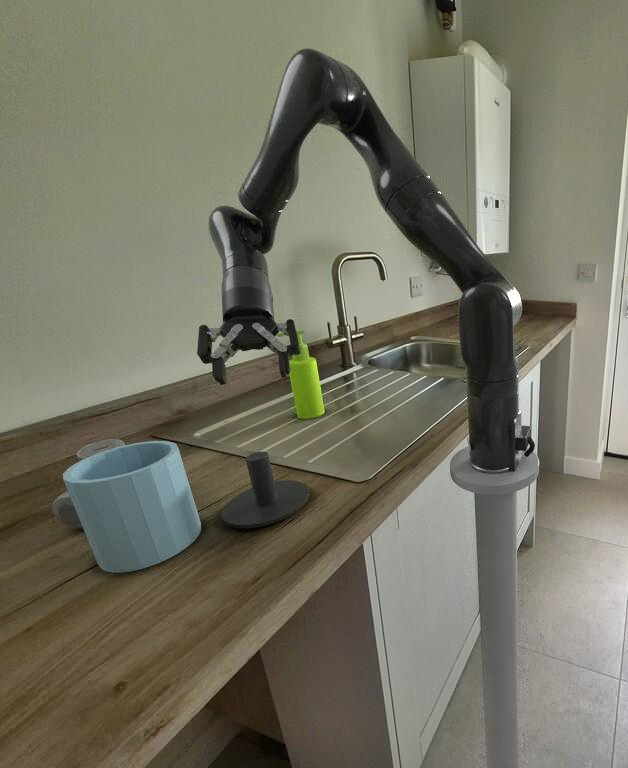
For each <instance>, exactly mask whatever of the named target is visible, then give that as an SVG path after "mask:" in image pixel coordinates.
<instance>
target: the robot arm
mask: <svg viewBox="0 0 628 768" xmlns="http://www.w3.org/2000/svg"><path fill="white" fill-rule="evenodd" d="M366 85H367V84H365V82H364V81H363V79H362V78H361V77H360V75H359V74H358V73H357V72H356V71H355V70H354V69H353V68H351V67H350V66H349V65H347V64H345V63H344V62H341V61H340V60H338V59H335V58H334V57H332V56H331V55H328V54H326V53H324V52H322V51H319V50H317V49H314V48H308V47H307V48H306V47H305V48H301V49H299V50H297V51H296V52H295V53H294V54H293V55H292V56H291V57H290V59H289V61H288V62H287V65H286V67H285V69H284V72H283V74H282V78H281V81H280V84H279V88H278V90H277V94H276V98H275V102H274V104H273V107H272V110H271V113H270V117H269V121H268V124H267V127H266V131H265V135H264V137H263V141H262V143H261V147H260V149H259V152H258V154H257V156H256V159H255V160H254V162H253V164H252V166H251V168H250V170H249V171H248V173H247V174H246V176H245V178H244V179H243V182H242V184H241V186H240V188H239V190H238V192H237V197H238V201H239V203H240V205H241V206H242V207H243V208H244V209H245V210H246V211H247V212H246V211H243V210H240V209H239V208H236V207H233V206H230V205H224V204H223V205H219V206H216V207H215V208H214V209H213V210H211V212H210V214H209V217H208V231H209V235H210V238H211V241H212V243H213V244H214V247H215V249H216V251H217V254H218V255H219V258H220V261H221V265H222V267H221V268H222V280H221V310H222V311H221V312H222V314H221V315H222V324H221V326H220V327H209V326H208V325H206V324H201V325H199V327H198V335H197V347H196V349H197V350H196V355H197V356H198V357H199V359H200V361H201V362H202V363H203V364H204V365H208V364H211V372H212V373H211V374H212V375H211V376H212V377H213V378H214V380H215V381H216V383H219V384H220V386H223V385H227V366H226V364H225V363H227V362H228V360H230V358H233V357H234V356H235V355H236V354H237V353H238V352H239V351H241V352H248V351H252V350H255V351H256V350H257V351H260V350H264V348H267V349H269V350H270V351H271V352H272V353H274V354H276V355H277V357H278V358H277V359H278V367H279V374H280V377H281V379H282V378H283V379H285V378H287V375H289V374H290V362H289V360H290V358H291V357H292V355H299V354H300V347H299V342H298V337H297V332H296V330H297V329H296V324H295V321H294V319H292V318H288V319H287V320H286V321H285V322H282V323H277V322H276V320H275V312H274V310H275V309H274V296H273V291H272V287H271V283H270V278H269V277H270V276H269V268H268V267H269V266H268V261H267V258H266V256H265V255H267V254H268V253H269V252H271V251H272V249H273V247H274V245H275V239H276V232H277V228H278V225H279V224H278V223H279V221H280V217H281V215H282V213H283V211H284V210H285V208H286V207H287V205H288V204H289V202H290V200H291V199H292V198H293V195H294V194H295V192H296V189H297V187H298V184H299V179H300V154H301V150H302V149H301V148H302V146H303V144H304V141H305V140H306V138H307V137H308V135H309V134H310V133H311V132H312V130H313V129H314V128H315V127H316V126H317V125H318V124H319V125H322V126H326V127H329V128H332V129H335V130H337V131H338V132H340V133H341V134H342V135H343V136H344V138H346V140H347V141H349V143H350V144H351V145H352V146H353V147H354V149H355V150H356V151H357V153H358V154H359V155H360V156H361V158H362V160H363V161H364V163H365V164H366V167H367V168H368V172H369V175H370V179H371V184H372V188H373V190H374V193H375V196H376V199H377V201H378V203H379V205H380V206H381V208H382V209H383V211H384V212H385V214H386V215H387V216H388V218H389V219H390V220H391V222H392V223H393V224H394V225H395V227H396V228H397V229H398V230H399V232H400V233H401V235H402V236H403V237H405V239H406V240H407V241H408V242H409V243H410V244H411V245H412V246H414V247H415V248H416V249H417V250H418V251H419V252H421V253H422V254H423V255H424V256H426V257H427V258H428V259H429V260H431V261H432V262H433V263H434V264H436V266H438V267H439V268H441V269H442V270H443V271H444V272H445V273H446V274H447V275H448V276H449V278H451V280H452V281H453V282H454V284H456V286H457V288H458V289H459V291H460V293H461V296H460V298H459V301H458V307H457V325H458V328H457V329H458V337H459V338H458V339H459V348H460V356H461V357H460V358H461V360H462V364H463V365H464V367H465V381H466V384H465V385H466V402H467V403H466V404H467V423H468V424H467V426H468V436H467V445H468V446H469V449H470V451H469V452H470V465H471V467H472V468H473V469H475V470H477V471H479V472H482V473H488V474H499V473H504V472H508V471H511V472H515V471H516V468H517V466H518V464H519V461H520V459H521V456H522V451H526V450H527V448H529V449H528V450H527V451H526V452H525V453H524V455H525V456H526V457H528V456H529V455H530V454H531V453H532V452H535V449H536V443H535V441H534V440H533V438H532V426H531V425H522V411H521V410H520V403H519V401H520V399H519V395H520V394H519V393H520V392H519V390H520V389H519V373H520V372H519V368H520V367H519V366H520V365H519V360H518V358H517V356H515V355H516V354H515V345H514V327H515V326H516V325H517V324H518V323H519V321H520V319H521V318H522V315H523V314H522V313H523V303H522V297H521V295H520V293H519V292H518V290H517V289H516V287H515V286H514V285H513V283H511V282H510V280H508V278H507V277H506V276H505V275H504V274H503V273H502V272H501V271H500V270H499V268H497V266H496V265H495V264H494V263H493V262H492V261H491V259H489V258H488V257H487V255H486V254H485V253H484V252H483V250H481V248H480V247H479V245H478V244H477V242H476V241H475V239H474V238H473V236H472V235H471V233H470V232H469V230H468V228H467V227H466V225H465V224H464V222H463V221H462V220H461V219H460V217H459V216H458V214H457V213H456V212H455V210H454V208H452V206H451V205H450V203H449V202H448V200H447V199H446V197H445V196H444V194H443V193H442V191H441V190H440V189H439V187H438V186H437V185H436V183H435V182H434V181H433V180H432V178H431V177H430V175H429V174H428V172H426V171H425V169H424V168H423V167H422V165H421V164H420V163H419V161H418V160H417V159H416V158H415V156H414V155H413V154H412V152H411V151H410V150H409V148H408V147H407V146H406V144H404V142H403V140H402V139H401V138H400V137H399V136H398V135H397V134H396V132H395V131H394V130H393V128H392V126H391V125H390V123H389V121H388V120H387V118H386V117H385V115H384V114H383V112H382V110H381V108H380V107H379V105H378V103H377V102H376V100H375V98H374V97H373V95H372V93H371V92H370V90H369V88H368V87H367V86H366ZM248 212H249V213H248ZM280 332H283V333H284V336H286V337H288V338H289V344H288V345H285V344H284V343H282V342H281V341H280V340H279V339H278V338H277V334H278V333H280ZM219 337H222V340H221V341H220V342H219V344H218V346H217V347H216V348H215V349H214V350H213V343H216V341H217V338H219ZM468 446H467V447H468Z"/></svg>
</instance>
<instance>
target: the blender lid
mask: <svg viewBox="0 0 628 768" xmlns="http://www.w3.org/2000/svg"><path fill="white" fill-rule="evenodd" d="M269 457H270V456H269V452H267V451H256V452H253V453H250V454H249V455H247V456H246V457H245V463H246V466H247V471H248V475H249V479H250V483H251V486H252V487H251V488H248V489H246V490H244V491H242V492H240V493H238V494H237V495H235V496H234V497H233V498H231V499H230V500H229V501H228V502H227V503H226V504H225V505H224V507H223V508H222V510H221V518H222V519H221V520H222V522H223V523H224V524H225V525H226V526H227V527H230V528H234V529H241V530H243V529H245V530H246V529H256V528H257V529H258V528H261V527H265V526H269V525H272V524H275V523H277V522H280V521H283V520H285V519H287V518H289V517H291V516H292V515H295V513H297V512H299V511H300V510H301V509H302V508H303V507H304V506H306V504H307V503H308V501H309V499H310V497H311V496H310V495H311V493H310V489H309V486H307V484H305V483H303V482H302V481H298V480H291V479H288V480H287V479H286V480H284V479H283V480H275V478H274V475H273V471H272V465H271V462H270V461H271V460H270V458H269Z"/></svg>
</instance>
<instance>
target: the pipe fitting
mask: <svg viewBox="0 0 628 768" xmlns="http://www.w3.org/2000/svg"><path fill="white" fill-rule="evenodd" d="M125 445H126V444H125V442H124V441H123V440H121V439H118V438H109V439H102V440H97V441H94V442H91V443H89V444H87V445H84V446H83V447H81V448H80V449H79V450H78V451H77V452H76V457H77V460H78V462H79V461H81V460H83V459H85V458H88V457H90V456H93V455H95V454H98V453H100V452H103V451H107V450H110V449H113V448H117V447H120V446H125ZM51 511H52V514H53V515H54V517H55V519H57V521H59V522H60V523H62V524H63V525H65V526H68V527H71V528H76V529H82V530H84V529H83V526H82V524H81V522H80V519H79V517H78V514H77V512H76V509H75V507H74V505H73V502H72V500H71V497H70V495H69V492H68V490H67V487H66V486H65V491H64V492H62V493H61V494H60V495H59V496H58V497H56V498H55V500H54V501H53V503H52V505H51Z"/></svg>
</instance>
